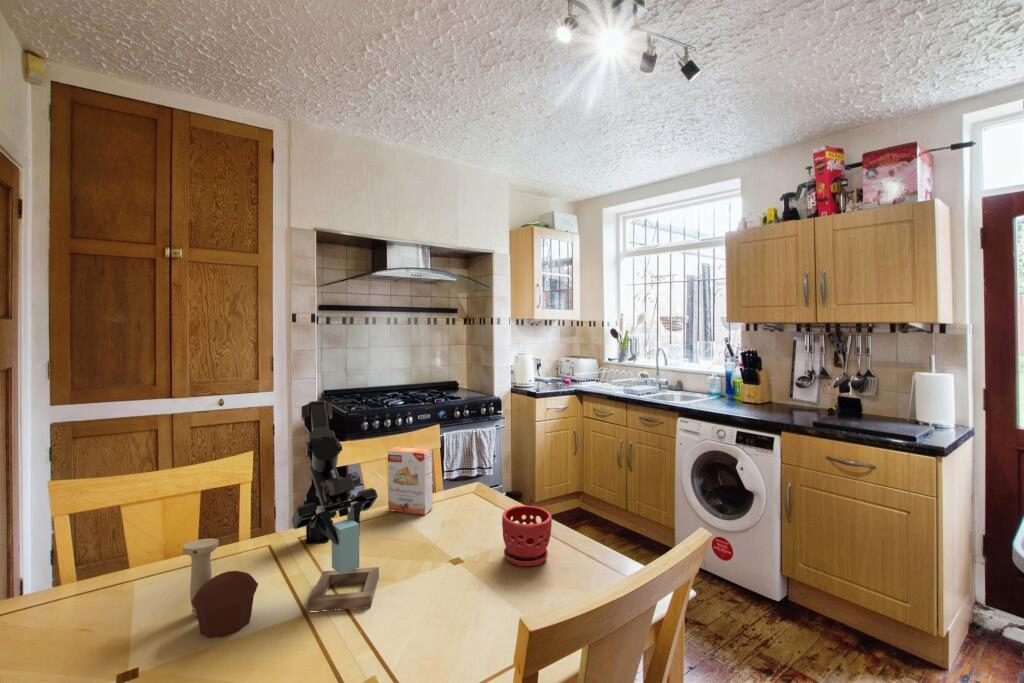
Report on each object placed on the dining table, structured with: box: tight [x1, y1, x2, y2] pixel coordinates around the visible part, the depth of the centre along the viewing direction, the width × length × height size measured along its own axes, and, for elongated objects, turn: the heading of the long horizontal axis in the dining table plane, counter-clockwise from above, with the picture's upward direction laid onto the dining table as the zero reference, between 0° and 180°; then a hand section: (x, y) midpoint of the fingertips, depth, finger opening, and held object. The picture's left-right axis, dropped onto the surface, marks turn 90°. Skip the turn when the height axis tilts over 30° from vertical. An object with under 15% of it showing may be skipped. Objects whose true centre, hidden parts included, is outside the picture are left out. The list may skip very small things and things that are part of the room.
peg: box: [331, 518, 360, 574], centre depth 107 cm, size 4×4×10 cm
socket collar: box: [307, 566, 380, 613], centre depth 107 cm, size 13×13×2 cm
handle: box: [182, 538, 220, 618], centre depth 99 cm, size 5×6×15 cm
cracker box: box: [387, 446, 433, 516], centre depth 158 cm, size 14×6×21 cm, turn 73°
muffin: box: [190, 570, 259, 639], centre depth 96 cm, size 12×11×10 cm
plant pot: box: [501, 505, 553, 567], centre depth 123 cm, size 13×13×12 cm
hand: (348, 540), depth 106 cm, fingers closed on peg, 4 cm apart
